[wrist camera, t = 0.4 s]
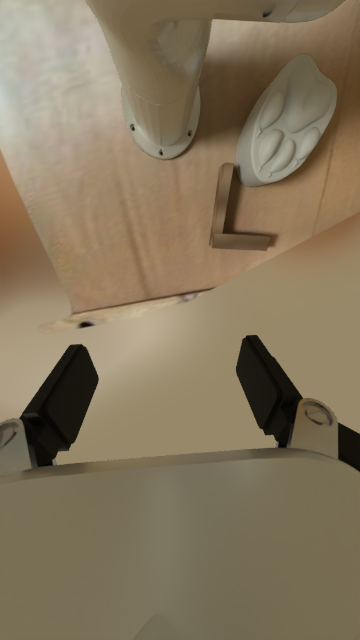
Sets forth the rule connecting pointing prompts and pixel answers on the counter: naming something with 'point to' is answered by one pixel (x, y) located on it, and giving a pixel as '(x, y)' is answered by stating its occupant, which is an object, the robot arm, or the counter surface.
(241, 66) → the counter surface
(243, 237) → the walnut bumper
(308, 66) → the lumpy-topped squat cylinder
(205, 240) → the counter surface
